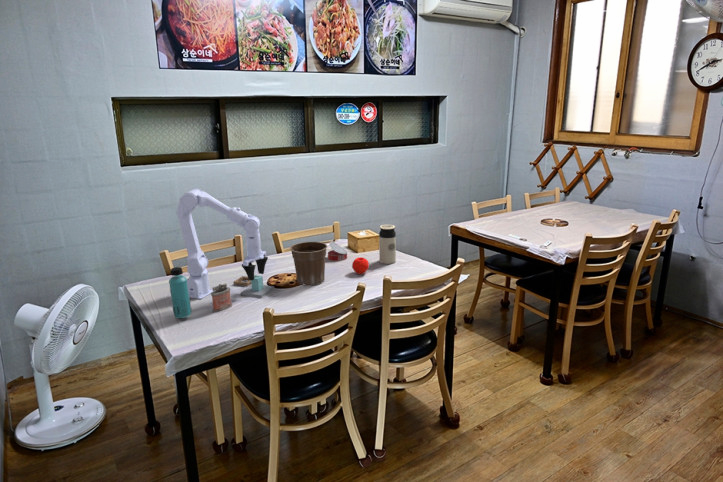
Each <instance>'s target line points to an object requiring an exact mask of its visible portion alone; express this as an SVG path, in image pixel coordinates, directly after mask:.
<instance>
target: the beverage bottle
mask: <svg viewBox="0 0 723 482" xmlns="http://www.w3.org/2000/svg"><path fill="white" fill-rule="evenodd" d="M183 273H184V272H183V268H182V267H180V266H177V267H176V266H175V267H172V268H170V276H172V277H171V278H169V280H168V283H169V289H170V290H169V292H170V297H171V303H172V311H173V312H172V313H173V316H174V317H175V318H177V319H184V318H187V317H189V316H191V315H192V305H191V301H190V300H191V299H190V297H189V293H188V286H187V279H188V278H187V277H185V275H183Z"/></svg>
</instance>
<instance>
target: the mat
mask: <svg viewBox="0 0 723 482" xmlns="http://www.w3.org/2000/svg"><path fill="white" fill-rule="evenodd" d="M273 290H275V286H273V285H266V284H263V289H262V290H260V291H253V290H252V286H251V285H249V286H247V287H246V288H245V289H243V291H240V295H241V296H248V297H256V298H263V297H265V296H266V295H267V294H269V293H271V292H272V291H273Z"/></svg>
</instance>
